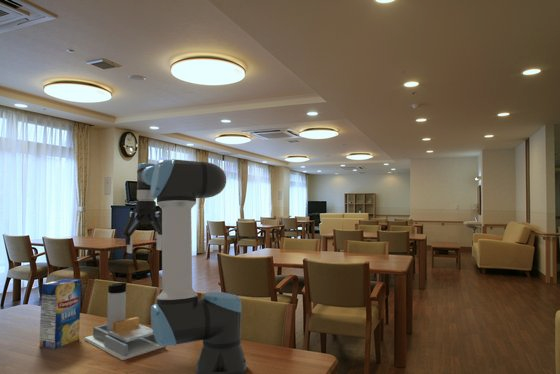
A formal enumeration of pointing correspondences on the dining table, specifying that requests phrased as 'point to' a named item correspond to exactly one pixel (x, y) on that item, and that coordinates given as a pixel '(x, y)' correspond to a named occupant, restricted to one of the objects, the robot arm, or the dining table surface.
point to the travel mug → (116, 304)
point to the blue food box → (60, 313)
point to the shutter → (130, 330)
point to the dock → (121, 344)
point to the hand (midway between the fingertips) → (144, 251)
